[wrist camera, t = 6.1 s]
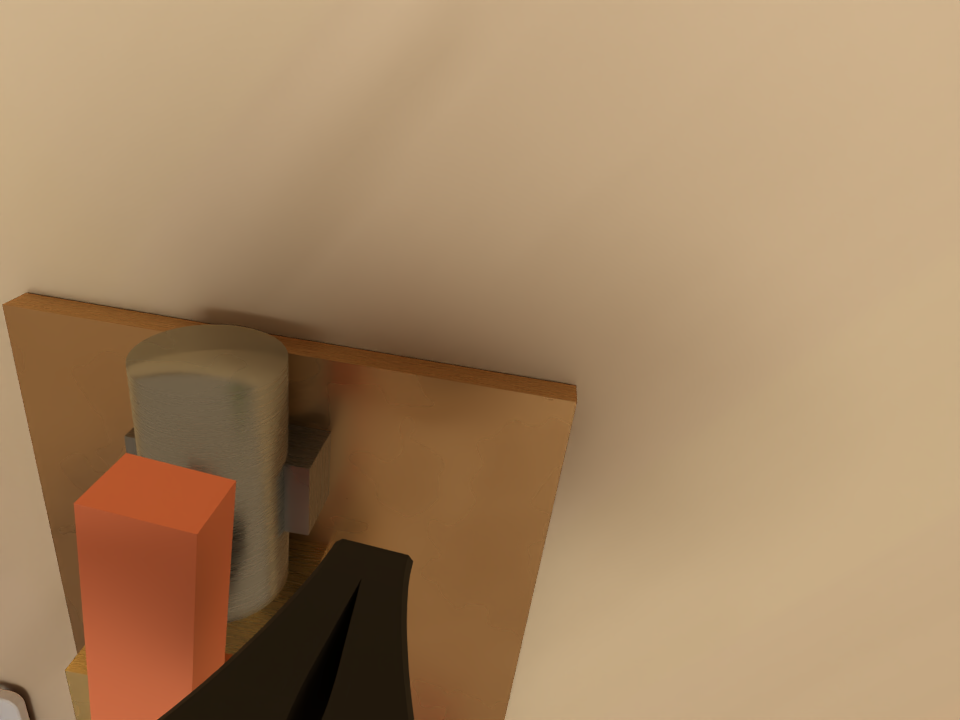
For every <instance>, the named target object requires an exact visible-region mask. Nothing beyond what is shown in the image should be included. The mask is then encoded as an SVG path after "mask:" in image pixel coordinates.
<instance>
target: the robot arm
mask: <svg viewBox="0 0 960 720" xmlns="http://www.w3.org/2000/svg"><path fill="white" fill-rule="evenodd" d="M412 565H413V560H412V559H411V558H410V556H409V555H407V554H403V553H399V552H395V551H391V550H387V549H383V548H379V547H375V546H371V545H367V544H363V543H359V542H355V541H351V540H347V539H341V540H338V541H336V542H335V544H334V545H333V546H332V548H331V549H330V551H329V552H328V554H327V555H326V556H325V557H324V559H323V560H322V561H321V563H320V564H319V565H318V566H317V568H316V569H315V570H314V571H313V573H312V574H311V575H310V576H309V577H308V578H307V580H306V581H305V582H304V583H303V584H302V585H301V586H300V588H299V589H298V590H297V591H296V592H295V593H294V594H293V596H292V597H291V598H290V599H289V600H288V601H287V602H286V603H285V604H284V605H283V606H282V607H281V608H280V609H279V610H278V611H277V613H276V614H275V615H274V616H273V617H272V618H271V619H270V620H269V621H268V622H267V623H266V624H265V625H264V626H263V627H262V628H261V629H260V630H259V631H258V632H257V633H256V634H255V635H254V636H253V637H252V638H251V639H250V640H249V641H248V642H247V643H245V644H244V645H243V646H242V647H241V648H240V649H239V650H238V651H237V652H236V653H235V654H234V655H233V656H232V657H231V658H230V659H229V660H228V661H227V662H225V663H224V664H223V665H222V666H221V667H220V668H219V669H218V670H217V671H215V672H214V673H213V674H212V675H211V676H210V677H209V678H207V679H206V680H205V681H204V682H203V683H202V684H200V685H199V686H198V687H197V688H196V689H195V690H193V691H192V692H191V693H190V694H189V695H187V696H186V697H185V698H184V699H182V700H181V701H180V702H179V703H178V704H176V705H175V706H174V707H173V708H171V709H170V710H169V711H168V712H166V713H165V714H164V715H162V716H161V717H160V718H159V719H157V720H414V714H413V706H412V697H411V688H410V677H409V663H408V644H407V600H408V588H409V579H410V574H411V569H412ZM0 720H30V719H29V716H28V712H27V709H26V705H25V701H24V699H23V698H22V697H21V696H20V695H19V694H17V693H15V692H13V691H9V690H4V689H0Z"/></svg>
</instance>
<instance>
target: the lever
mask: <svg viewBox="0 0 960 720" xmlns="http://www.w3.org/2000/svg"><path fill="white" fill-rule="evenodd" d="M235 491H236V480H232V479H228V478H224V477H220V476H216V475H212V474H208V473H204V472H200V471H196V470H192V469H188V468H184V467H180V466H176V465H172V464H168V463H164V462H161V461H157V460H153V459H149V458H145V457H141V456H137V455H133V454H129V453H125V454H124V455H123V456H122V457H121V458H120V459H119V460H118V461H117V462H116V463H115V464H114V465H113V466H112V467H111V468H110V469H109V470H108V471H107V472H106V473H105V474H103V475H102V476H101V477H100V478H99V479H98V480H97V481H96V482H95V483H94V484H93V485H92V486H91V487H90V488H89V489H88V490H87V491H86V492H85V493H84V494H83V495H82V496H81V497H80V498H79V499H78V500H77V501H76V502H74V513H75V525H76V538H77V550H78V563H79V575H80V588H81V600H82V613H83V625H84V638H85V650H86V662H87V675H88V687H89V700H90V712H91V720H157V719H159V718H160V717H161V716H162V715H164V714H165V713H166V712H168V711H169V710H170V709H171V708H173V707H174V706H175V705H176V704H178V703H179V702H180V701H181V700H182V699H184V698H185V697H186V696H187V695H189V694H190V693H191V692H192V691H193V690H195V689H196V688H197V687H198V686H199V685H200V684H202V683H203V682H204V681H205V680H206V679H207V678H209V677H210V676H211V675H212V674H213V673H214V672H215V671H217V670H218V669H219V668H220V667H221V666H222V665H223V664H224V662H225V646H226V631H227V615H228V600H229V584H230V569H231V553H232V538H233V522H234V507H235Z"/></svg>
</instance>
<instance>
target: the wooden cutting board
mask: <svg viewBox="0 0 960 720" xmlns="http://www.w3.org/2000/svg"><path fill="white" fill-rule="evenodd" d="M2 305H3V310H4V315H5V319H6V324H7V329H8V333H9V338H10V342H11V347H12V352H13V356H14V361H15V366H16V370H17V375H18V380H19V384H20V389H21V394H22V398H23V403H24V407H25V412H26V417H27V421H28V426H29V431H30V435H31V440H32V445H33V449H34V454H35V459H36V463H37V468H38V473H39V477H40V482H41V486H42V491H43V496H44V500H45V505H46V510H47V514H48V519H49V524H50V528H51V533H52V538H53V542H54V547H55V551H56V556H57V561H58V565H59V570H60V575H61V579H62V584H63V589H64V593H65V598H66V603H67V607H68V612H69V617H70V621H71V626H72V630H73V635H74V640H75V644H76V649H77V656H76V657H75V658H74V660H73V661H72V662H71V663H70V665H69V666H68V667H67V669H66V670H65V673H66V678H67V682H68V686H69V690H70V695H71V699H72V703H73V708H74V712H75V716H76V720H91V712H90V700H89V687H88V675H87V662H86V650H85V638H84V625H83V613H82V600H81V588H80V575H79V563H78V550H77V538H76V525H75V513H74V502H76V501H77V500H78V499H79V498H80V497H81V496H82V495H83V494H84V493H85V492H86V491H87V490H88V489H89V488H90V487H91V486H92V485H93V484H94V483H95V482H96V481H97V480H98V479H99V478H100V477H101V476H102V475H103V474H105V473H106V472H107V471H108V470H109V469H110V468H111V467H112V466H113V465H114V464H115V463H116V462H117V461H118V460H119V459H120V458H121V457H122V456H123V455H124V454H125V453H129V454H133V455H137V456H141V457H145V458H149V459H153V460H157V461H161V462H164V463H168V464H172V465H176V466H180V467H184V468H188V469H192V470H196V471H200V472H204V473H208V474H212V475H216V476H220V477H224V478H228V479H232V480H236V491H235V507H234V522H233V538H232V553H231V569H230V584H229V600H228V615H227V631H226V646H225V662H227V661H228V660H229V659H230V658H231V657H232V656H233V655H234V654H235V653H236V652H237V651H238V650H239V649H240V648H241V647H242V646H243V645H244V644H245V643H247V642H248V641H249V640H250V639H251V638H252V637H253V636H254V635H255V634H256V633H257V632H258V631H259V630H260V629H261V628H262V627H263V626H264V625H265V624H266V623H267V622H268V621H269V620H270V619H271V618H272V617H273V616H274V615H275V614H276V613H277V611H278V610H279V609H280V608H281V607H282V606H283V605H284V604H285V603H286V602H287V601H288V600H289V599H290V598H291V597H292V596H293V594H294V593H295V592H296V591H297V590H298V589H299V588H300V586H301V585H302V584H303V583H304V582H305V581H306V580H307V578H308V577H309V576H310V575H311V574H312V573H313V571H314V570H315V569H316V568H317V566H318V565H319V564H320V563H321V561H322V560H323V559H324V557H325V556H326V555H327V554H328V552H329V551H330V549H331V548H332V546H333V545H334V544H335V542H336V541H338V540H341V539H347V540H351V541H355V542H359V543H363V544H367V545H371V546H375V547H379V548H383V549H387V550H391V551H395V552H399V553H403V554H407V555H409V556H410V558H411V559H412V560H413V565H412V569H411V574H410V579H409V588H408V600H407V644H408V663H409V677H410V688H411V697H412V706H413V714H414V720H504V718H505V714H506V710H507V705H508V701H509V696H510V692H511V688H512V683H513V679H514V675H515V670H516V666H517V661H518V657H519V653H520V648H521V644H522V640H523V635H524V631H525V627H526V622H527V618H528V613H529V609H530V605H531V600H532V596H533V592H534V587H535V583H536V578H537V574H538V570H539V565H540V561H541V557H542V552H543V548H544V543H545V539H546V535H547V530H548V526H549V522H550V517H551V513H552V508H553V504H554V500H555V495H556V491H557V487H558V482H559V478H560V474H561V469H562V465H563V460H564V456H565V452H566V447H567V443H568V439H569V434H570V430H571V425H572V421H573V417H574V412H575V408H576V404H577V393H576V386H575V385H569V384H563V383H557V382H551V381H545V380H539V379H533V378H527V377H521V376H515V375H509V374H503V373H498V372H492V371H486V370H480V369H474V368H468V367H462V366H456V365H450V364H444V363H438V362H432V361H427V360H421V359H415V358H409V357H403V356H397V355H391V354H385V353H379V352H373V351H367V350H361V349H355V348H350V347H344V346H338V345H332V344H326V343H320V342H314V341H308V340H302V339H296V338H290V337H284V336H278V335H273V334H267V333H265V332H262V331H259V330H256V329H252V328H248V327H243V326H235V325H224V324H207V323H202V322H196V321H190V320H184V319H178V318H172V317H166V316H160V315H154V314H148V313H142V312H136V311H130V310H125V309H119V308H113V307H107V306H101V305H95V304H89V303H83V302H77V301H71V300H65V299H59V298H53V297H48V296H42V295H36V294H30V293H25V294H23V295H21V296H19V297H17V298H15V299H13V300H11V301H9V302H7V303H5V304H2ZM225 662H224V663H225Z"/></svg>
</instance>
